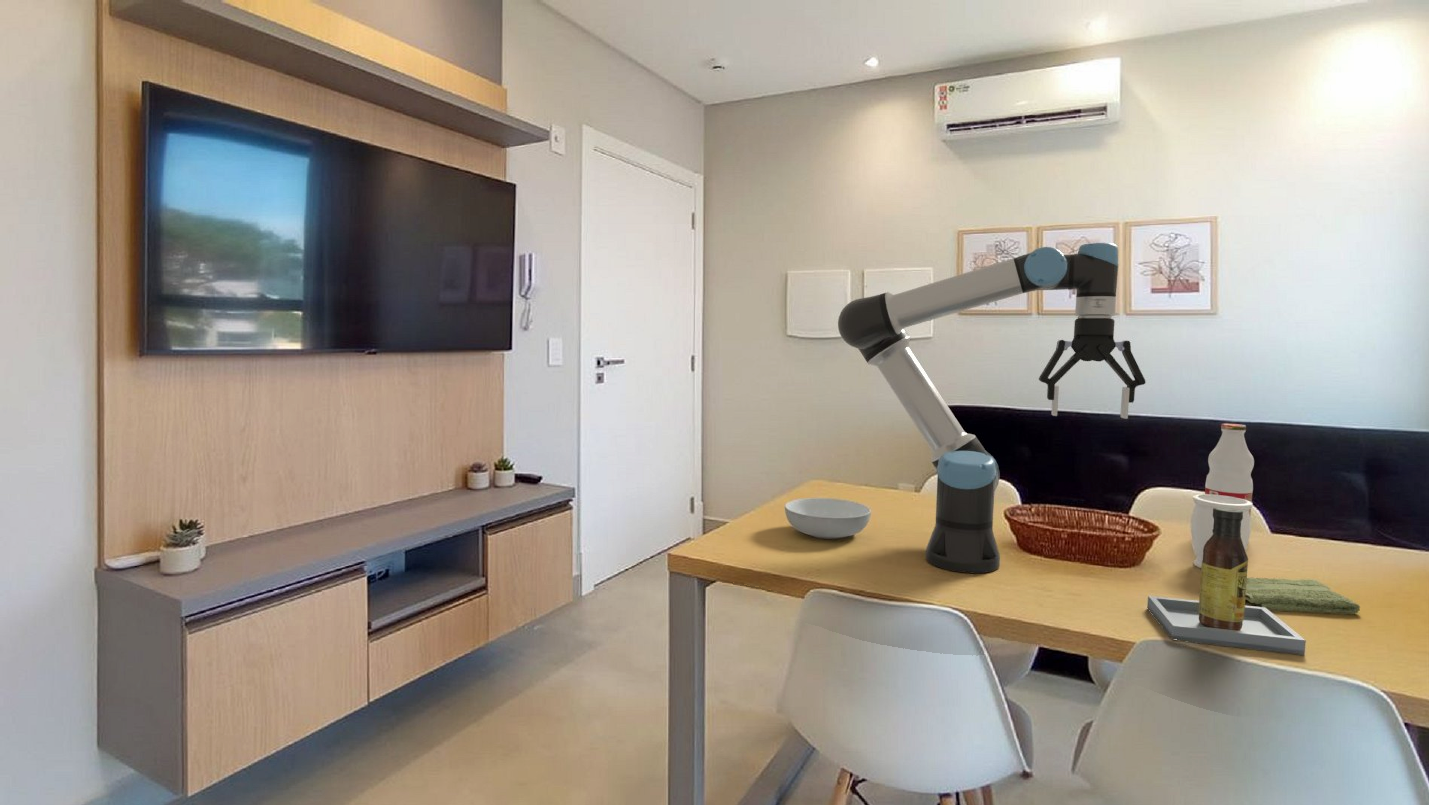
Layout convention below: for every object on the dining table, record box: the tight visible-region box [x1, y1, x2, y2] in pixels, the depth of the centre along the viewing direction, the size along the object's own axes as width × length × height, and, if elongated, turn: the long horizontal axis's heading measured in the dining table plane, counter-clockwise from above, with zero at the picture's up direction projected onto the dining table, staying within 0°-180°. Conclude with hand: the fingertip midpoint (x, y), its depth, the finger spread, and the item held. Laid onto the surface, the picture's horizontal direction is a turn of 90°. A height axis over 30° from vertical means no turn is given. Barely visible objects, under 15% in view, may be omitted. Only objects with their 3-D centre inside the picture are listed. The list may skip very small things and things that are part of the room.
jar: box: [1190, 493, 1253, 569], centre depth 152 cm, size 11×10×15 cm
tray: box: [1146, 595, 1307, 656], centre depth 120 cm, size 18×14×2 cm
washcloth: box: [1245, 577, 1361, 616], centre depth 134 cm, size 13×18×3 cm
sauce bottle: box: [1198, 507, 1249, 631], centre depth 119 cm, size 6×6×20 cm
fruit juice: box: [1204, 423, 1255, 517], centre depth 175 cm, size 9×9×28 cm
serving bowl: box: [784, 497, 872, 540], centre depth 176 cm, size 21×21×7 cm
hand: (1088, 416), depth 154 cm, fingers open, 13 cm apart
